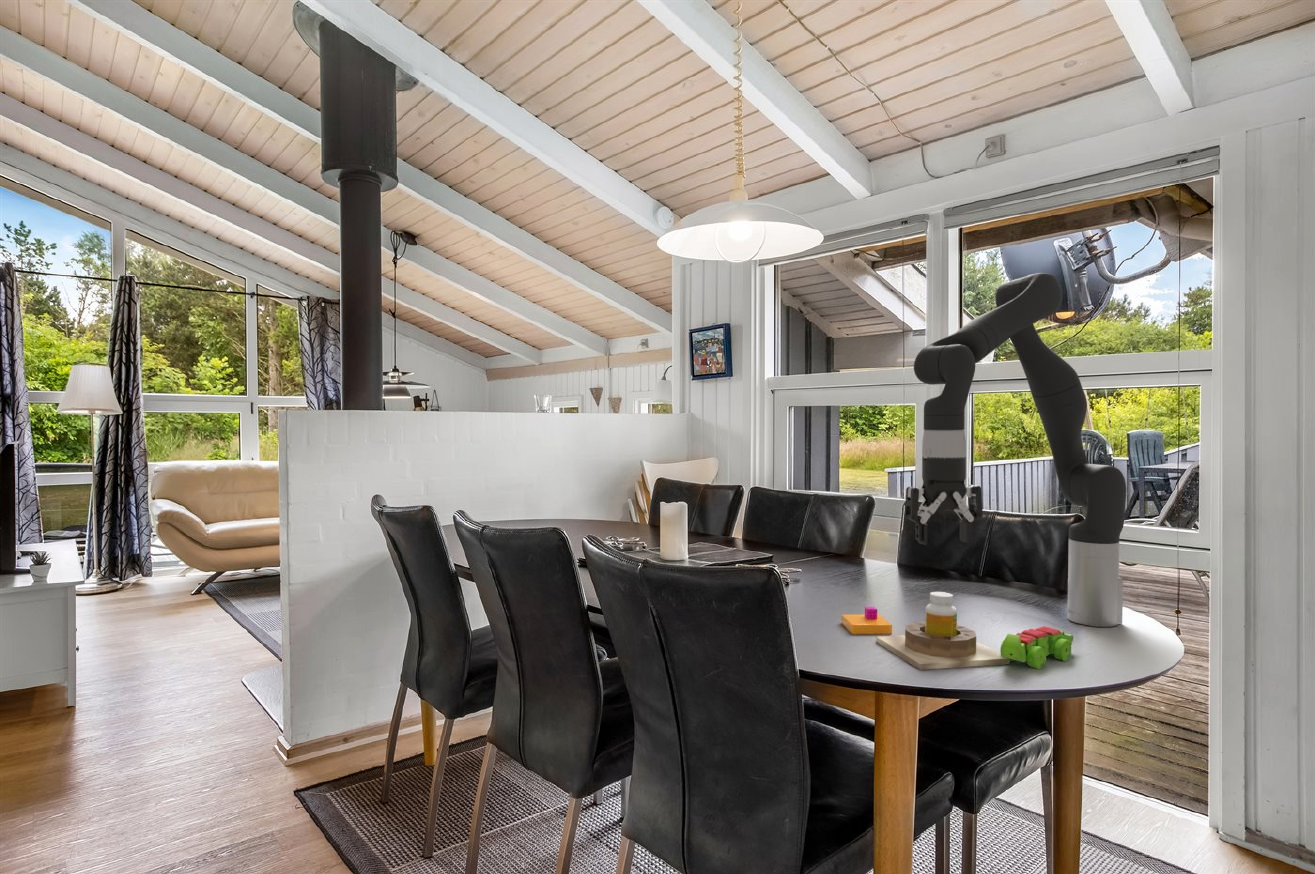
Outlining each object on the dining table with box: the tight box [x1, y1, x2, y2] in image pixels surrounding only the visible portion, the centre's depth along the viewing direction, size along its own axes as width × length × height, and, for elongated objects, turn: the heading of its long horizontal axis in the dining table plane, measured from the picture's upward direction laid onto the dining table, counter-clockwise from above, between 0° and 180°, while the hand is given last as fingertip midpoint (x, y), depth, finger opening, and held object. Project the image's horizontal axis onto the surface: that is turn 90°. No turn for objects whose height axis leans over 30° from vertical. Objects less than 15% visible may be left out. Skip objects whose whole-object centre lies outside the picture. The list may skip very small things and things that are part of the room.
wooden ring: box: [904, 621, 977, 658], centre depth 136 cm, size 12×12×3 cm
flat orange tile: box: [841, 606, 893, 635], centre depth 152 cm, size 8×8×4 cm
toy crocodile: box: [999, 626, 1074, 670], centre depth 133 cm, size 20×7×6 cm, turn 122°
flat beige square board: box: [875, 634, 1011, 671], centre depth 136 cm, size 17×16×1 cm
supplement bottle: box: [924, 591, 958, 637], centre depth 136 cm, size 5×5×10 cm
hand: (943, 542), depth 137 cm, fingers open, 8 cm apart
